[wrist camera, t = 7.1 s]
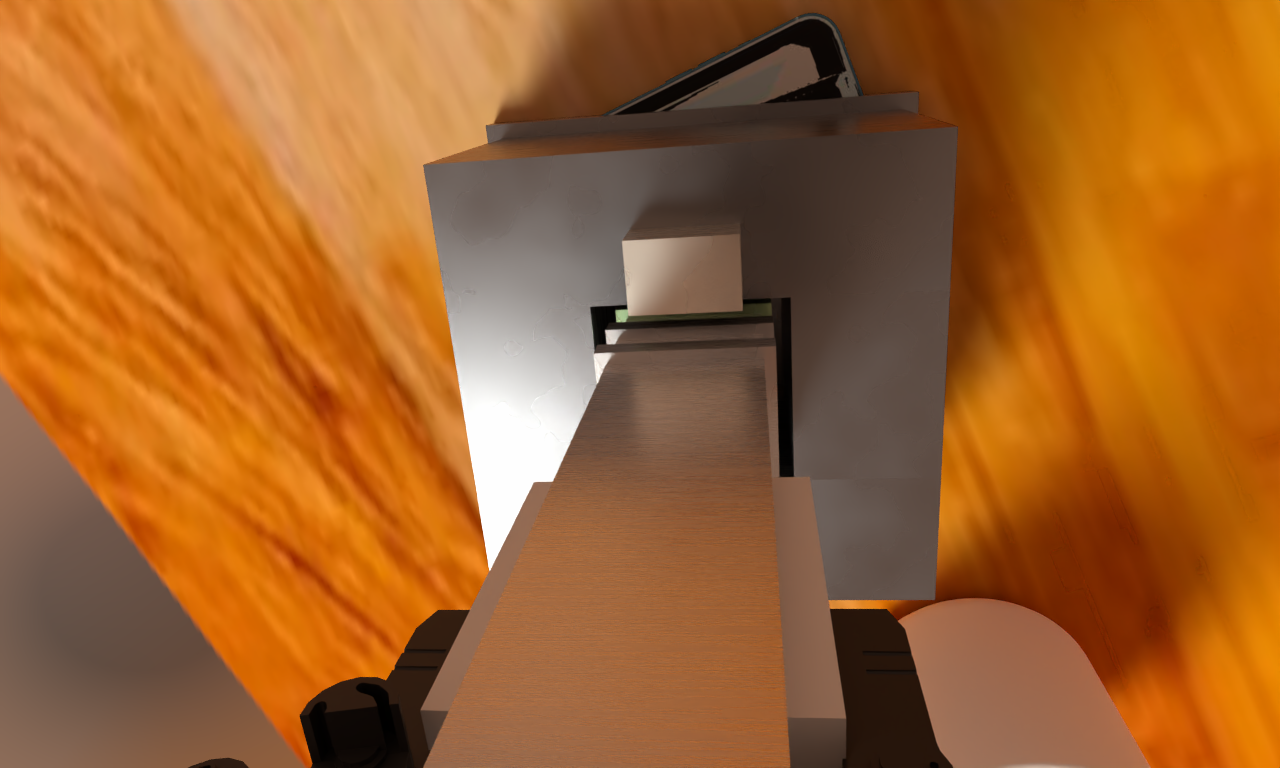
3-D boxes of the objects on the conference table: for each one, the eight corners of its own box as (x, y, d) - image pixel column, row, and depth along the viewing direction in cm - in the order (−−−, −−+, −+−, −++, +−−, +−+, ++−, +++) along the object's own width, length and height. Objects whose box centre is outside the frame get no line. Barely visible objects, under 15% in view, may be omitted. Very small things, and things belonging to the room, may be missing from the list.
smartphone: (449, 190, 32) (827, -1, 28) (458, 186, 33) (825, 1, 29) (539, 359, 34) (904, 204, 30) (545, 351, 35) (900, 200, 31)
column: (620, 290, 27) (307, 877, 8) (772, 283, 27) (849, 902, 7) (632, 428, 29) (401, 1195, 9) (776, 424, 28) (846, 1239, 9)
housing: (493, 123, 31) (380, 153, 22) (913, 91, 29) (996, 107, 20) (541, 486, 37) (468, 641, 27) (901, 479, 35) (962, 644, 25)
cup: (1000, 542, 35) (1091, 716, 26) (1130, 701, 37) (1258, 915, 28) (804, 658, 38) (823, 850, 29) (933, 799, 40) (990, 1021, 31)
